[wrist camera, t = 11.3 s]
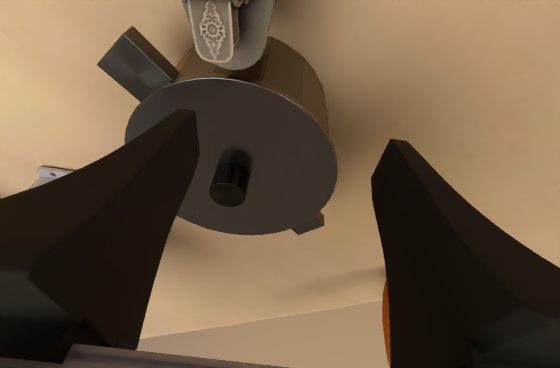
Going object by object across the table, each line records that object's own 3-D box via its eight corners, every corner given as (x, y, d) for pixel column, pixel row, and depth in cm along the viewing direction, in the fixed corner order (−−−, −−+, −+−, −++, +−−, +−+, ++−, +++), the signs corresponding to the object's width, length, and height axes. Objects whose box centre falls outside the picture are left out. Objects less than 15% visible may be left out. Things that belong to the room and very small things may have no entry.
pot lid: (233, 240, 24) (227, 269, 22) (93, 143, 17) (68, 173, 15) (372, 184, 18) (379, 217, 16) (239, 7, 11) (226, 29, 10)
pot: (263, 200, 29) (254, 258, 24) (107, 66, 20) (49, 118, 15) (369, 151, 23) (383, 213, 19) (221, -65, 14) (181, -41, 10)
